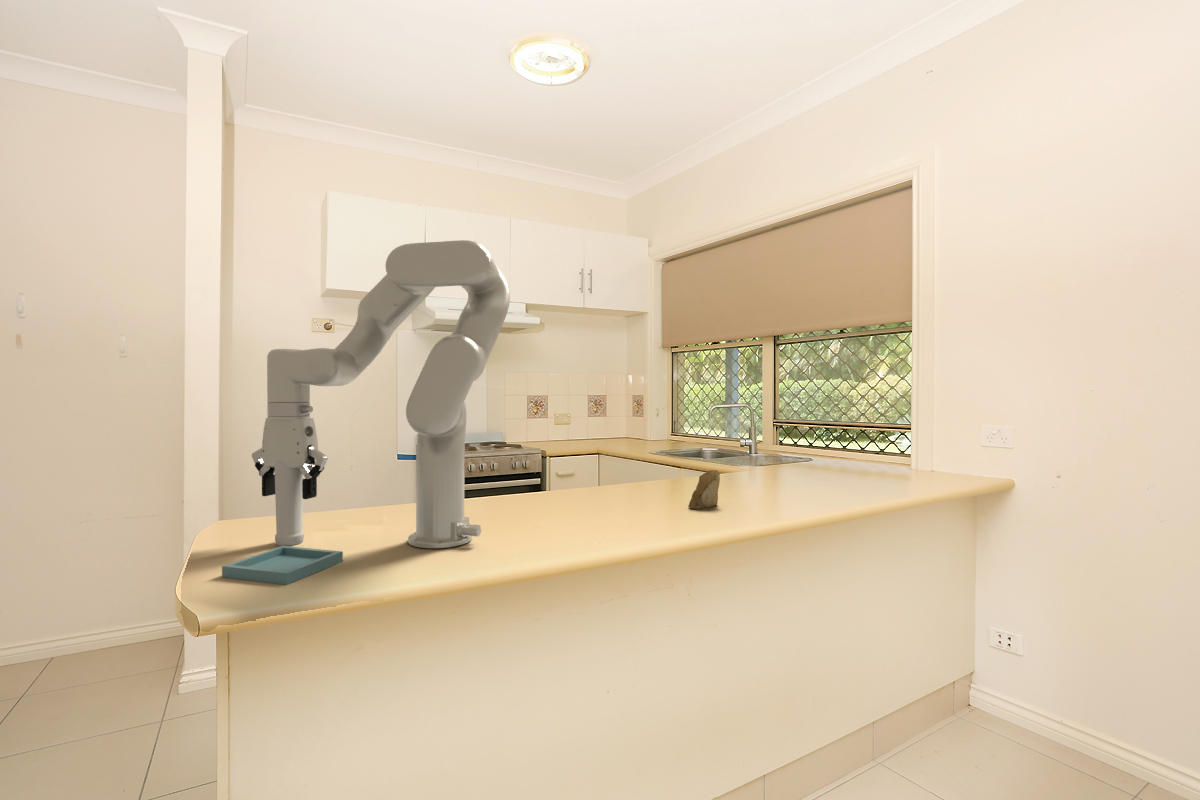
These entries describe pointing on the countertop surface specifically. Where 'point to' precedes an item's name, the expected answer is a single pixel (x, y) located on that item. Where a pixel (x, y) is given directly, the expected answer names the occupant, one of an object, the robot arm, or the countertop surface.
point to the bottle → (288, 505)
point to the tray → (282, 564)
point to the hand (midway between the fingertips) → (289, 496)
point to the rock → (706, 490)
